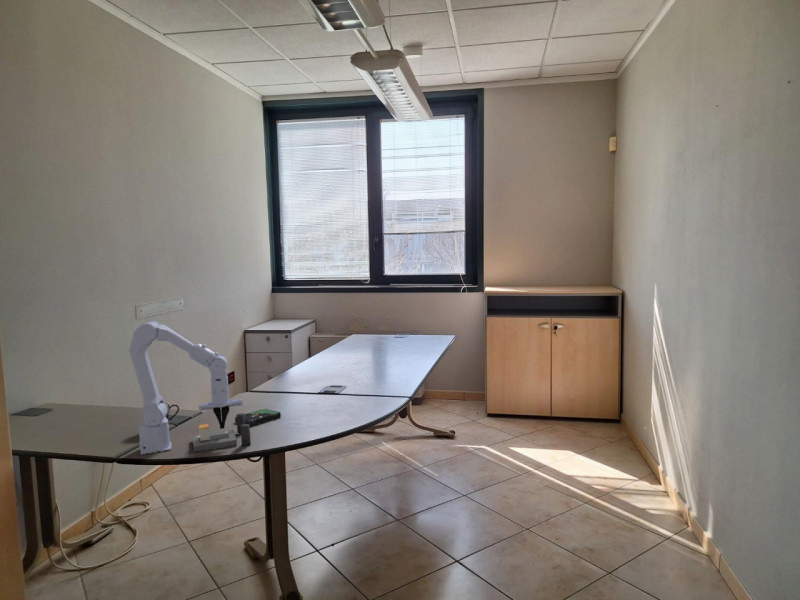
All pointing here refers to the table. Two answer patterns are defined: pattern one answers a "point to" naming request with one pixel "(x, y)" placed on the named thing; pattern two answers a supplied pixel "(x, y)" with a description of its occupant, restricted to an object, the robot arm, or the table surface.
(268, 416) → the disk drive
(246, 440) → the post
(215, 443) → the breaker panel
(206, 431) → the block
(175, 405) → the coffee mug
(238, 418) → the cylinder
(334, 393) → the table surface
